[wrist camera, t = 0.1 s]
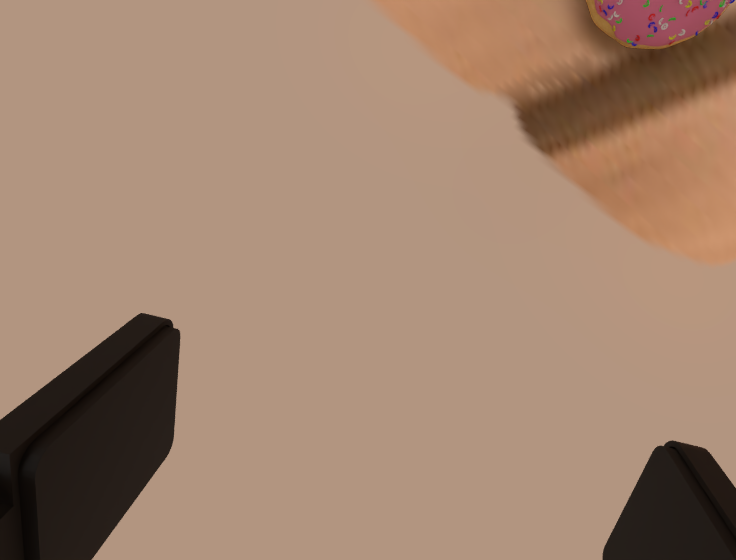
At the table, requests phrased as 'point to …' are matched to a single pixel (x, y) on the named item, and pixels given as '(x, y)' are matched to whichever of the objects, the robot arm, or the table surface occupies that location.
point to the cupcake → (654, 20)
